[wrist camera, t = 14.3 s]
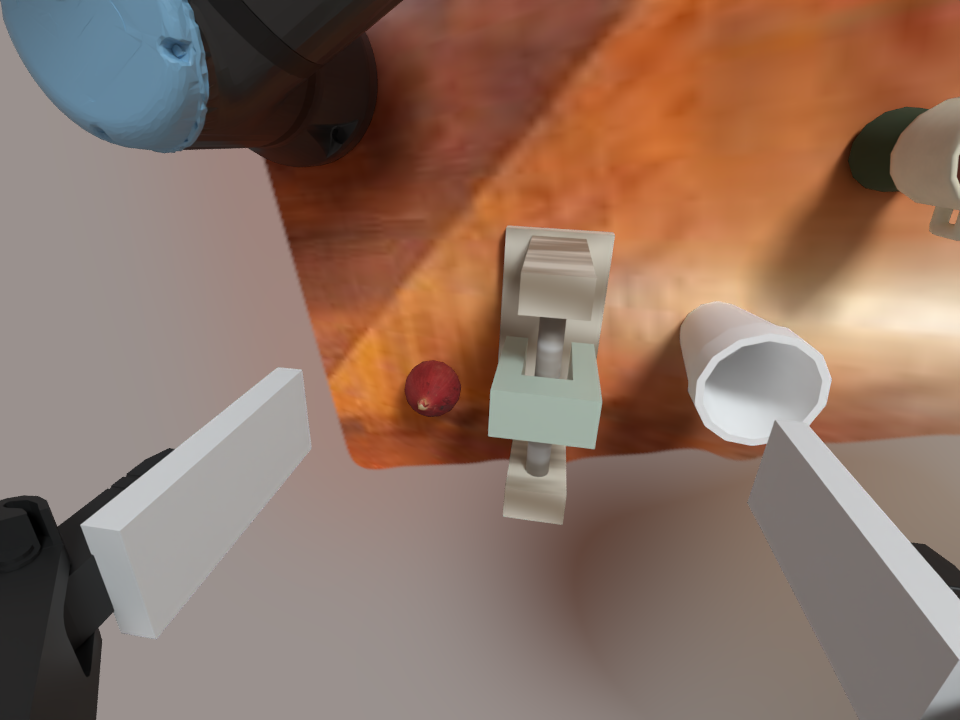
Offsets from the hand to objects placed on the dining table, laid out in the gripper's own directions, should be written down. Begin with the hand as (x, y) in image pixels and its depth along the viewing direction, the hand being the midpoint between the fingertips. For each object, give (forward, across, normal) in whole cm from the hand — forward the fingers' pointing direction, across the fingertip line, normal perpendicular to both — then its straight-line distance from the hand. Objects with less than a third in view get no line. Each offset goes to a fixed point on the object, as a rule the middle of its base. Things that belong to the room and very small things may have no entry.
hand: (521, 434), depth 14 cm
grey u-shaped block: (+31, +1, -11) cm, 33 cm away
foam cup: (+37, +17, -9) cm, 42 cm away
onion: (+37, -10, -17) cm, 42 cm away
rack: (+37, +1, -11) cm, 38 cm away
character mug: (+37, +27, +8) cm, 46 cm away
